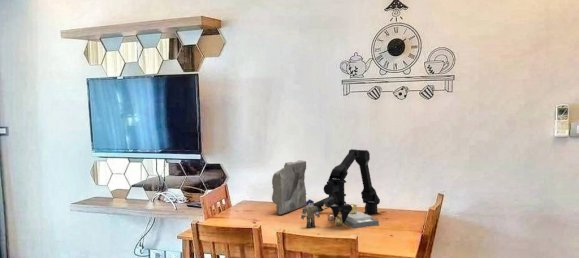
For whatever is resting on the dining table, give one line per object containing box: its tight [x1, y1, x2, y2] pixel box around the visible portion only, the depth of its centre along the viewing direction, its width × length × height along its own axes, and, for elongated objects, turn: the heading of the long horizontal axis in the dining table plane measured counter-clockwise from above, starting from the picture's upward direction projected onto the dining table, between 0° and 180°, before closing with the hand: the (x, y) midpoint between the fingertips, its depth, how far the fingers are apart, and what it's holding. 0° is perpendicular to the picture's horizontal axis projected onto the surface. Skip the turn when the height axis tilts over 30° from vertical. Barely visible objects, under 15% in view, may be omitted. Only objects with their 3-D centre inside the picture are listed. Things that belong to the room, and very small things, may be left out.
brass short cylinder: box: [349, 204, 358, 214], centre depth 257 cm, size 4×4×4 cm
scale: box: [344, 210, 380, 229], centre depth 252 cm, size 15×19×4 cm
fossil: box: [271, 159, 307, 215], centre depth 287 cm, size 34×9×30 cm, turn 153°
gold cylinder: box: [334, 215, 345, 227], centre depth 247 cm, size 4×4×4 cm
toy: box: [300, 199, 321, 229], centre depth 244 cm, size 10×4×15 cm, turn 114°
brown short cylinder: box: [327, 213, 335, 222], centre depth 259 cm, size 4×4×3 cm
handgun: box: [313, 194, 341, 214], centre depth 276 cm, size 2×17×12 cm, turn 78°
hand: (339, 221), depth 247 cm, fingers open, 9 cm apart
